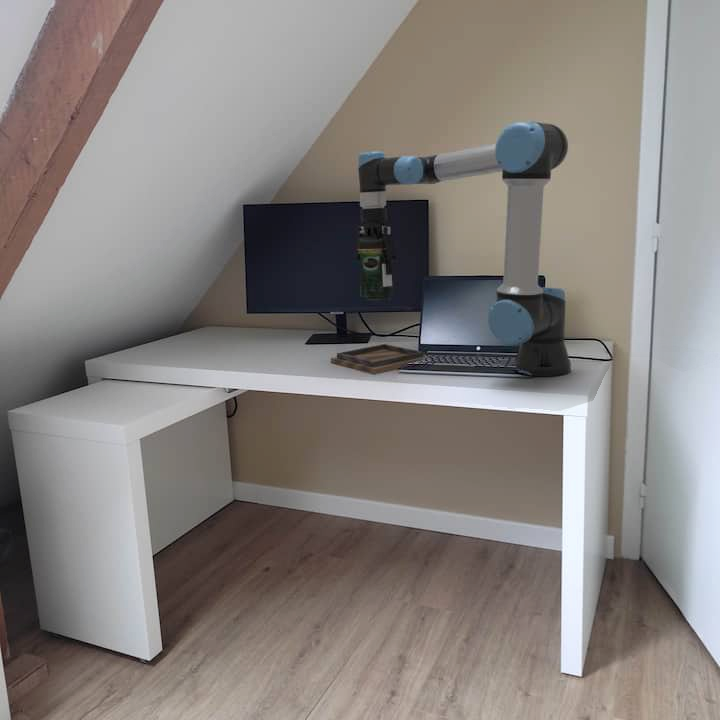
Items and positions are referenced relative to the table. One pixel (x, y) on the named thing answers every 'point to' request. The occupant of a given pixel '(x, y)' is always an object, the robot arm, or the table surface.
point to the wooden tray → (378, 358)
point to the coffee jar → (373, 269)
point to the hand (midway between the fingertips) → (376, 284)
